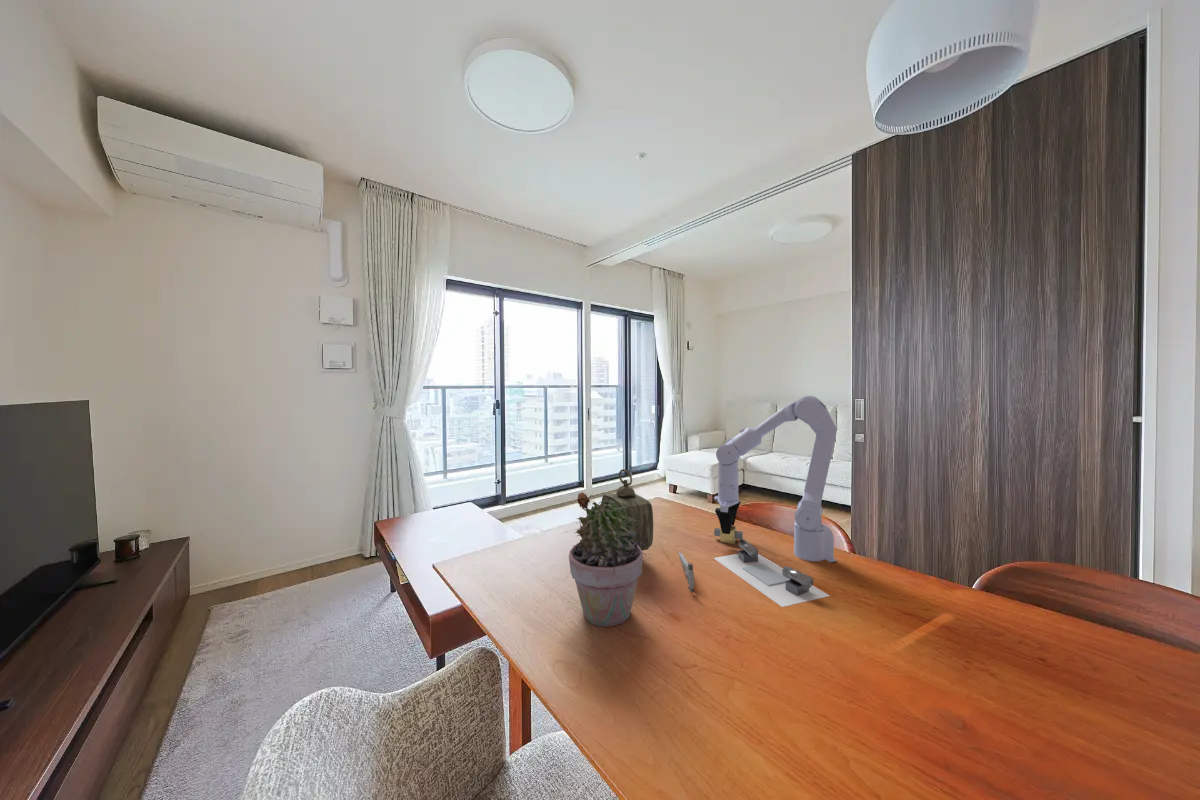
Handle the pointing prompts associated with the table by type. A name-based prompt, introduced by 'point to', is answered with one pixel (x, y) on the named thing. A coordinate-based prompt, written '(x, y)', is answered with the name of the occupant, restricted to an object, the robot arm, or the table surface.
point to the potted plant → (605, 563)
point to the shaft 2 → (797, 581)
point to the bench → (768, 580)
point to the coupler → (729, 535)
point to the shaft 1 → (747, 552)
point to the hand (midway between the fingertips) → (728, 529)
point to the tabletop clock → (634, 511)
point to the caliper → (688, 571)
